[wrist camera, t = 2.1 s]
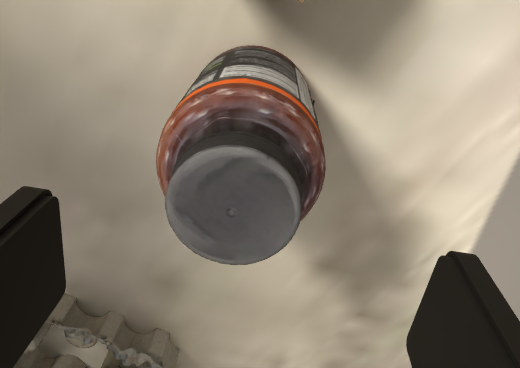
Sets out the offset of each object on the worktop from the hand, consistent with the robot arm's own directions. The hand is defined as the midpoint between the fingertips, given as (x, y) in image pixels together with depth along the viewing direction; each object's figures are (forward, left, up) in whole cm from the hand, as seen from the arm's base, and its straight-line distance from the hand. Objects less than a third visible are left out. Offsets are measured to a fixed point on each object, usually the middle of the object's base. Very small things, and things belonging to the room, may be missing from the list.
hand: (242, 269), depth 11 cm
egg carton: (-18, -10, -14) cm, 25 cm away
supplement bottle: (0, +1, -14) cm, 14 cm away
